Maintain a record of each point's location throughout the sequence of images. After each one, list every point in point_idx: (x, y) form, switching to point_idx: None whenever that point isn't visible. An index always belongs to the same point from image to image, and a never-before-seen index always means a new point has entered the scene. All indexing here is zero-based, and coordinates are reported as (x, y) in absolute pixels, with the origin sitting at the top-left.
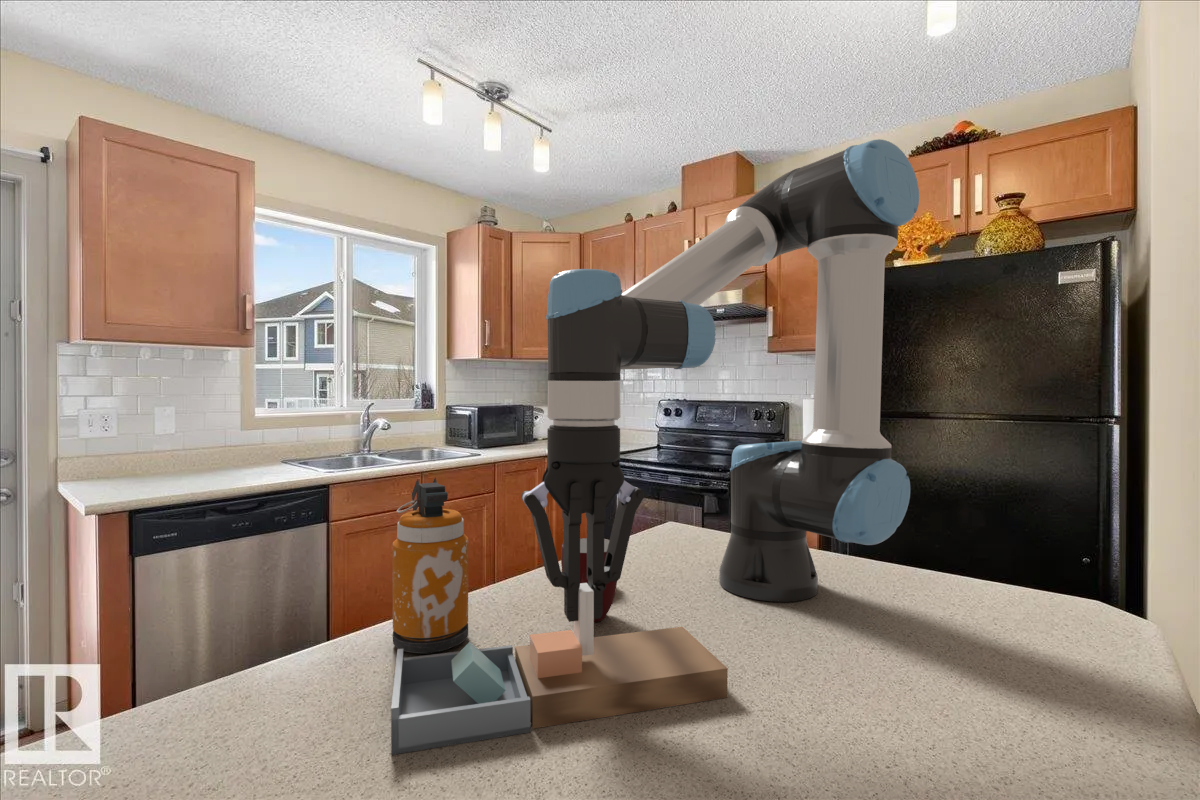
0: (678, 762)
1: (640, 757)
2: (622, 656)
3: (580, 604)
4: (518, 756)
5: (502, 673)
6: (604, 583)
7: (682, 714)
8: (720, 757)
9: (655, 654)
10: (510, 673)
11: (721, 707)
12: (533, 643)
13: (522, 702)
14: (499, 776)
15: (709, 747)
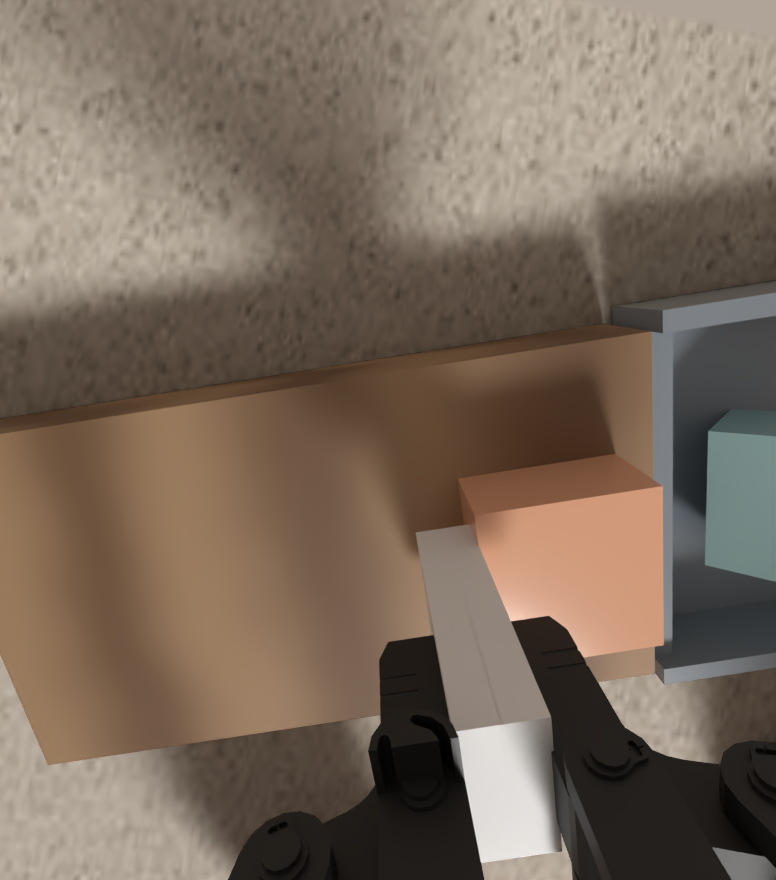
0: (201, 86)
1: (313, 130)
2: (298, 572)
3: (523, 660)
4: (660, 190)
5: None
6: (376, 786)
7: (148, 344)
8: (65, 92)
9: (175, 575)
10: None
11: (17, 368)
12: (662, 571)
13: (687, 305)
14: (724, 97)
15: (92, 152)
